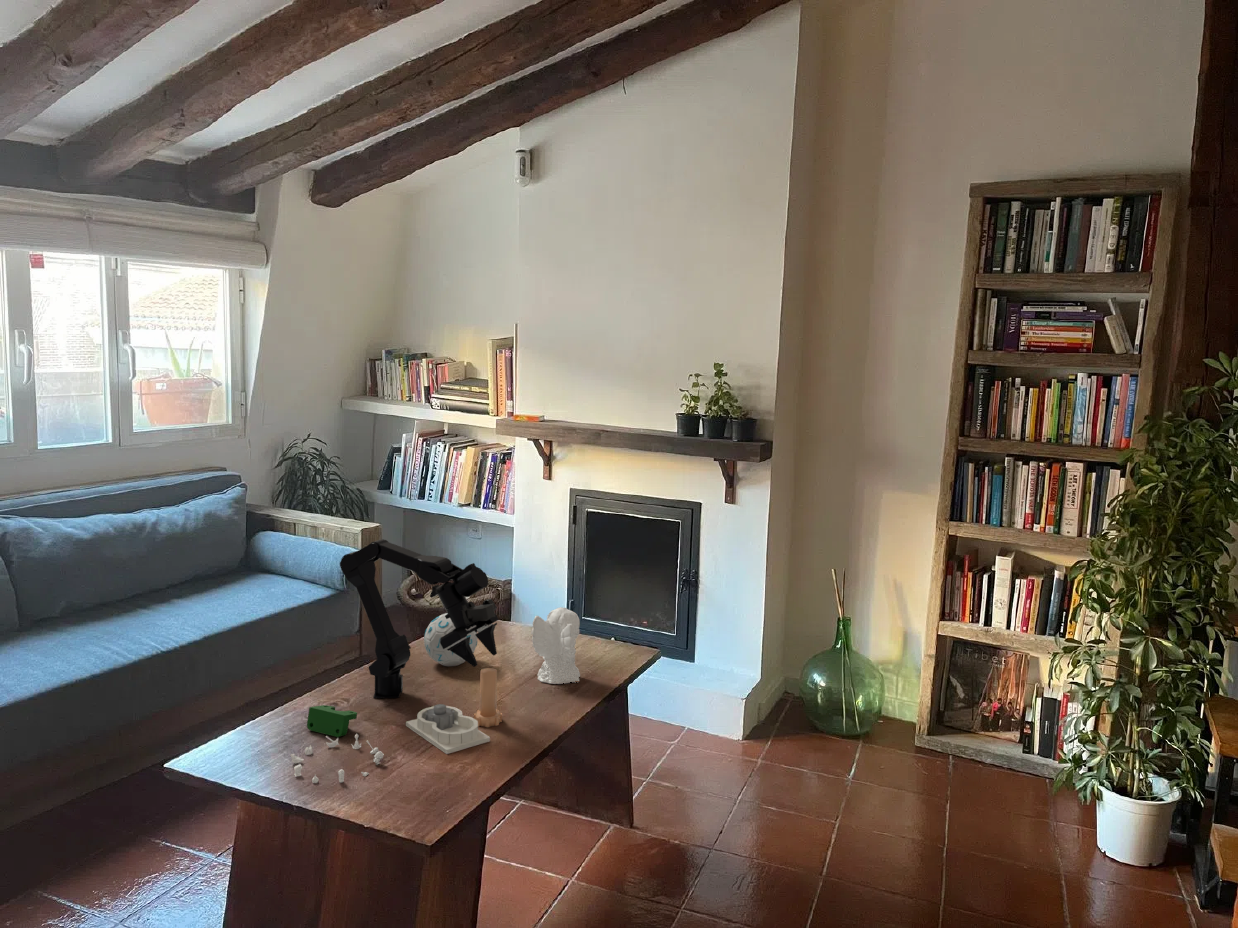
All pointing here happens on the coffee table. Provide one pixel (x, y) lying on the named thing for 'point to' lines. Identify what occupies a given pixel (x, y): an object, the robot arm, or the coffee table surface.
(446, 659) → the puzzle ball
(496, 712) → the knob on notched ring
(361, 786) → the coffee table surface
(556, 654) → the cherub figurine
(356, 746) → the game piece set
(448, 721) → the housing
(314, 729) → the clamp
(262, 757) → the coffee table surface
